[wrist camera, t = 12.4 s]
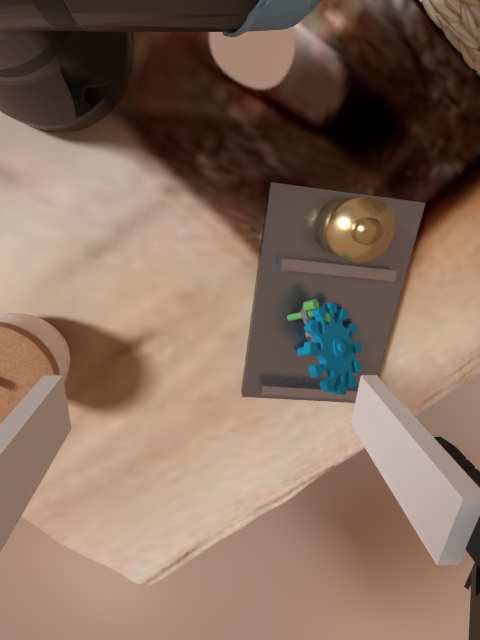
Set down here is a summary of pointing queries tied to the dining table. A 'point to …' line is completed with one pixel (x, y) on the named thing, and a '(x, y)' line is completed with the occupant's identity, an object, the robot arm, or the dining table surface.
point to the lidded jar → (28, 357)
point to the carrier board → (325, 282)
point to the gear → (330, 345)
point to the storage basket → (459, 26)
